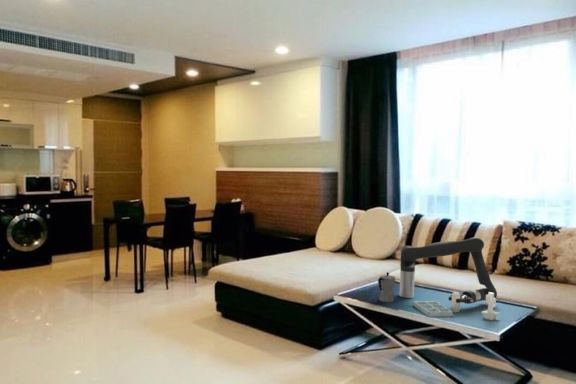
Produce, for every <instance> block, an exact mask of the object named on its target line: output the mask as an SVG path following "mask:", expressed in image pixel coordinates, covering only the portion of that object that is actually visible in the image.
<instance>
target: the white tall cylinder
mask: <svg viewBox="0 0 576 384" xmlns="http://www.w3.org/2000/svg"><path fill="white" fill-rule="evenodd" d="M451 294H452V300H451V306H450V310H451V311H453V313H460V312H461V311H460V309H461V302H460V303H456V299H459V298H460V294H461V293H459V292H458V291H453V292H452V293H451Z"/></svg>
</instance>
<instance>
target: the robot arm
mask: <svg viewBox="0 0 576 384" xmlns="http://www.w3.org/2000/svg"><path fill="white" fill-rule="evenodd" d="M484 248H485V243H484V240H482V239H481V238H480V237H477V236H476V237H475V236H474V237H470V238H468V239H463V240H456V241H454V240H448V241H447V240H445V241H439V242H433V243H430V244H428V245H427V244H426V245H423V246H416V247H414V246H411V245H406V246H403V247H402V248H401V250H400V263H399V264H400V275H399V297H401V298H407V299H411V298H414V297H415V296H414V295H415V279H416V278H415V275H416V273H415V272H416V265H415V264H416V260H420V259H421V260H422V259H426V258H440V257H446V256H452V255H453V256H454V255H456V254H460V253H470V255H471V257H472V260H473V264H474V268H475V272H476V276H477V280H478V281H477V282H478V283H479V284H480V285H482V286H484V287H482V288H479V289H471V290H465V291H463V292H462V293H459V294H460V298H459V299H456V303H460V304H461V303H462V304H467V305H468V304H473V303H474V304H475V303H477V302H482V301H486V295H488V292H492V293H494V298H495V299H496V298H497V296H498V292H497V289H496V287H495V286H494V284H493V282H492V280H491V277H490V272H489V269H488V267H487V265H486V263H485V260H484V256H483V249H484ZM451 300H452V293H451V294H450V296H448V301H449V302H450V301H451Z"/></svg>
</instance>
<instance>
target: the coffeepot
mask: <svg viewBox="0 0 576 384" xmlns="http://www.w3.org/2000/svg"><path fill="white" fill-rule="evenodd" d="M395 281H396V276H393V275H390V272H388V271H387V272H386V274H385V275H384V274H383V275H381V276H379V278H378V281H377V283H378V288H379V291H380V295H379V301H380V302H383V303H393V302H395V297H394V291H393V288H394V285H395Z"/></svg>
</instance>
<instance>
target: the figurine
mask: <svg viewBox="0 0 576 384" xmlns="http://www.w3.org/2000/svg"><path fill="white" fill-rule="evenodd" d="M485 304H486V305H487V309H486V310H483V311H480V312H481V314H482V316H483V318H485V320H488V319H489V320H488V321H493V320H496V319H497V317H498V315H500V312H498V311H494V308H496V306H497V300H496V298H494V293H492V292H488V295H486V300H485Z"/></svg>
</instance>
